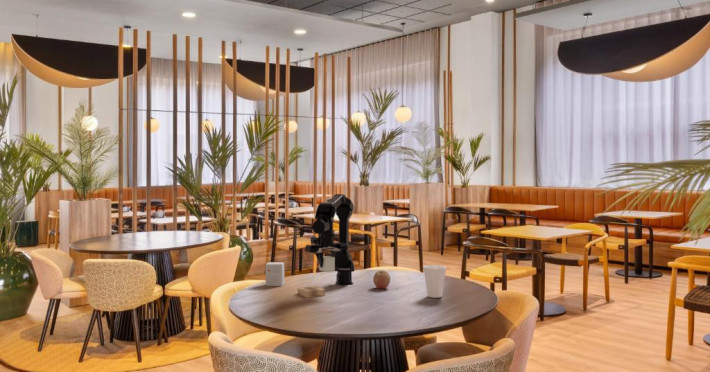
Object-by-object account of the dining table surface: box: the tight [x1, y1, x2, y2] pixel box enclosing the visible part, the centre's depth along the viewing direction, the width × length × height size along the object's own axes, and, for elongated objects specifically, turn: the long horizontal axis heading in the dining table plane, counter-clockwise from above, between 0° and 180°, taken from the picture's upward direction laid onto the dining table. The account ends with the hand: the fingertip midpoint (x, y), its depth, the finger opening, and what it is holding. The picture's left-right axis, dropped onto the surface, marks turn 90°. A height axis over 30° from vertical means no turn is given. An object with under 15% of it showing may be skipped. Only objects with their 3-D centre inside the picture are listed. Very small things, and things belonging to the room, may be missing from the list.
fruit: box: [372, 270, 391, 290], centre depth 271 cm, size 8×8×8 cm
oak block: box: [297, 285, 326, 299], centre depth 258 cm, size 9×9×3 cm
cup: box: [422, 264, 447, 299], centre depth 253 cm, size 10×10×13 cm
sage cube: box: [318, 255, 336, 273], centre depth 258 cm, size 5×5×6 cm
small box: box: [265, 261, 285, 287], centre depth 280 cm, size 8×6×10 cm
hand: (326, 267), depth 258 cm, fingers closed on sage cube, 5 cm apart
